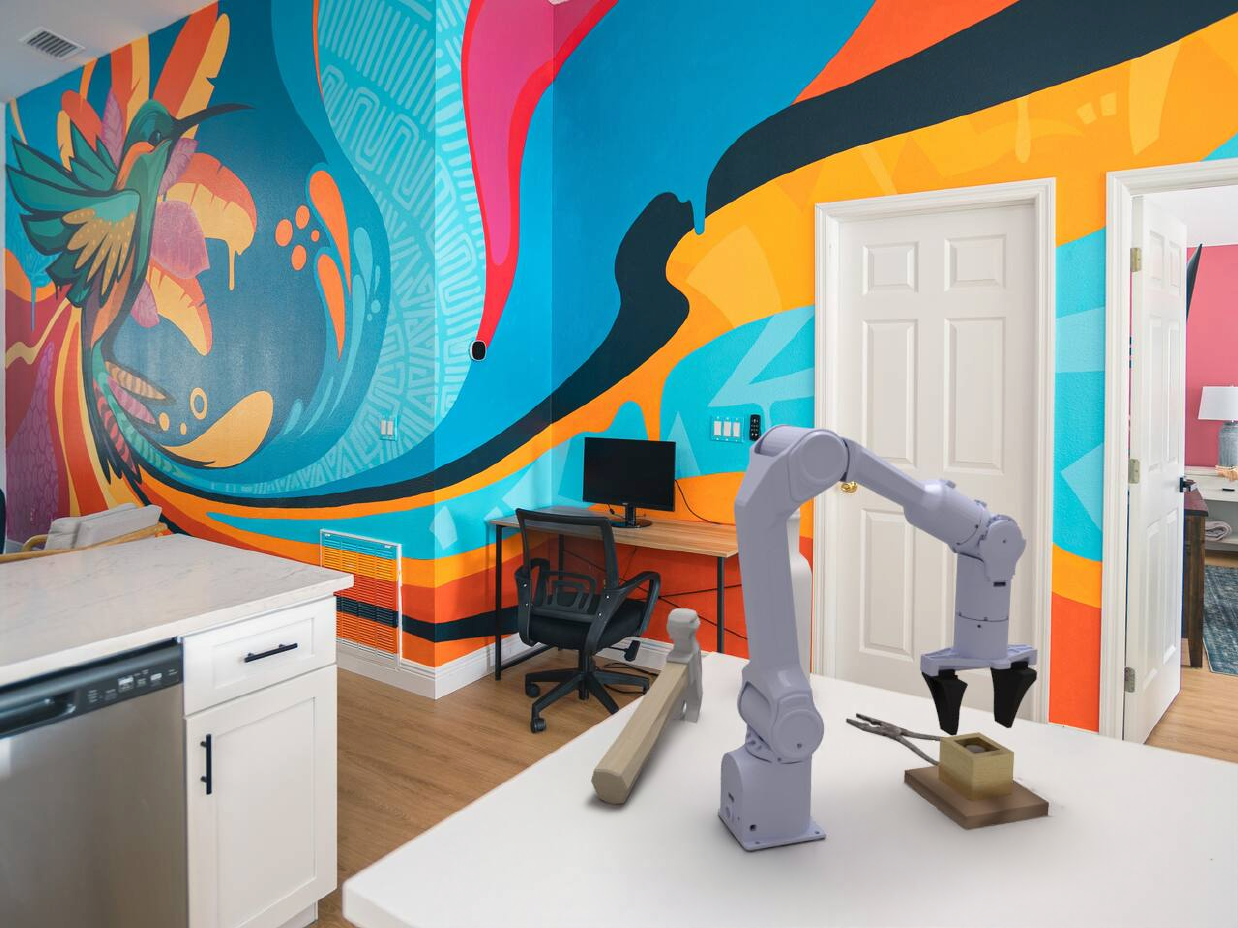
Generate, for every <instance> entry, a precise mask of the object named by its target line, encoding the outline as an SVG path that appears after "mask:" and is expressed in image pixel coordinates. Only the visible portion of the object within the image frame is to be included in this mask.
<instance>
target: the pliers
mask: <svg viewBox="0 0 1238 928" xmlns="http://www.w3.org/2000/svg"><path fill="white" fill-rule="evenodd" d="M855 717H856V718H858V719H860V720H862V721H865V722H860V721H858V720H855V719H853V718H852V719H851V718H846V720H845V722H846V723H847V724H849V725H851V726H853V727H855V728H857V729H859V730H861V731H864V732H867V733H871V734H874V735H878V736H882V737H886V738H888V739H890V740H893V741H895V742H898V743H900V744H901V745H903V746H905V748H908V749H909V750H910V751H912V752H913V753H914V754H915V755H917V756H919V757H920V758H921V759H923V760H924V761H926V762H928V763H930V764H932V766H936V765H939V760H935V759H934V758H932V757H931V756H929V755H928V754H926V753H925V752H923V751H922V750H921V749H920V748H919V747H917V745H915V744H913V743H912V742H911V741H909V740H908V739H906V738H913V739H918V740H924V741H925V740H926V741H933V740H935V742H940V738H945V737H946V736H939V735H933V734H924V733H920V732H919V733H918V732H914V731H911V730H909V729H907V728H903V727H900V726H897V725H895V724H894V723H890V722H887V721H884V720H880V719H877V718H873V717H871V716H867V715H864V714H861V713H858V712H857V713H855ZM867 722H868V723H867ZM869 723H870V724H871V725H873V726H871V725H870V724H869ZM905 737H906V738H905Z"/></svg>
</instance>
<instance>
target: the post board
mask: <svg viewBox="0 0 1238 928" xmlns="http://www.w3.org/2000/svg"><path fill="white" fill-rule="evenodd" d="M966 749H967V750H969V751H971V752H972V753H974V754H978V753H984V752H985V749H984V748H982V747H980V746H976V745H969V746H967V747H966ZM903 782H904V783H905V784H906V785H908V786H909V787H910V788H912V789H913V790H914V791H915V792H917V793H918V794H919V795H920V796H922V797H923V798H924V799H926V800H927V801H928V802H929V803H931V804H932V805H933V806H934V807H936V808H937V809H939V810H940V811H941V812H942V813H944V814H945V815H946V816H947V817H949V818H950V819H952V820H953V821H954V822H956V823H957V824H958V825H959V826H961V827H962V828H963V829H964V830H966V831H968V830H973V829H977V828H984V827H989V826H990V827H991V826H994V825H1000V824H1005V823H1011V822H1017V821H1023V819H1024V820H1027V819H1028V820H1029V819H1034V818H1040V817H1046V816H1049V808H1050V807H1049V806H1050V805H1049V804H1050V802H1049V801H1047V800H1046V799H1044V798H1043V797H1041V796H1040V795H1038V794H1037V793H1035V792H1033V791H1032V790H1030V789H1029V788H1027V787H1025V786H1024V785H1022V784H1020V783H1019V782H1017V781H1016V780H1015V779H1013V786H1012V794H1010V795H1005V796H999V797H994V798H988V799H983V800H977V801H970V800H969V799H968V798H966V797H965V796H963V795H962V794H960V793H959V792H957V791H956V790H955V789H953V788H952V787H950V786H949V785H947V784H946V783H945V782H943V781H942V780H940V779H939V765H930V766H924V767H918V768H912V769H911V768H910V769H905V770H904V781H903Z"/></svg>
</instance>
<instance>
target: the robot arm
mask: <svg viewBox="0 0 1238 928" xmlns="http://www.w3.org/2000/svg"><path fill="white" fill-rule="evenodd" d="M838 482H840V483H844V484H848V483H855V484H858V485H860V486H862V487H864V488H865V489H867V490H869V491H871V492H872V493H873V492H874V493H875V494H877V495H879V496H880V497H883V498H886V499H887V500H889V501H891V502H893V503H894V504H897V505H899V506H901V507H902V508H903V516H904V518H905V519H906V521H907V523H908V524H910V525H912V526H913V527H915V528H918V529H919V530H921V531H923V532H924V533H926V534H928V535H929V536H932V537H933V538H935V539H937V540H939V541H941V542H943V543H944V544H946V545H947V546H948V548H949V549H950V551H951V552H953V553H954V554H957V555H956V556H957V557H956V558H957V559H956V575H955V576H956V579H955V600H954V602H955V603H954V621H953V641H952V642H953V643H952V645H951V646H947V647H945V648H942V649H939V650H936V651H933V652H929V653H922V654H920V661H919V663H920V667H919V671H921V673H920V674H921V676H922V678H923V680H924V681H925V683H926V686H927V687H928V689H929V692H930V695H931V697H932V699H933V703H934V706H935V709H936V714H937V718H938V723H939V729H940V730H942V731H943V732H944V733H946V734H948V735H949V736H950V737H951V736H958V731H959V725H960V714H961V713H960V711H961V706H962V702H963V699H964V698H963V697H964V694H965V693H966V690H967V687H968V686H969V684H968V682H965V681H964V680H962V679H960V678H959V675H958V674H956V672H959V671H969V670H978V669H979V670H981V669H985V668H986V669H987V668H989V669H990V675H991V679H992V687H993V688H992V689H993V718H994V722H995V723H997V724H998V725H1001V726H1002V727H1004V728H1006V729H1011V728H1012V727H1013V724H1014V721H1015V719H1016V715H1017V713H1018V711H1019V708H1020V705H1021V703H1022V701H1023V700H1024V698H1025V696H1026V694H1027V692H1028V691H1029V690H1030V688H1031V687H1032V685H1033V684H1034V683H1035V682H1036V681H1037V679H1038V671H1037V669H1034V668H1032V667H1029V666H1036V665H1037V661H1038V649H1037V647H1034V646H1031V645H1029V644H1027V643H1020V644H1016V643H1015V644H1014V643H1012V644H1010V643H1009V626H1010V605H1011V589H1012V580H1013V578H1014V576H1016V566H1017V563H1018V561H1019V560H1020V558H1021V557H1022V556H1023V554H1024V551H1025V549H1026V546H1027V539H1026V538H1024V537H1023V532H1022V530H1021V529H1020V527H1019V524H1018V523H1017V521H1016V520H1015V519H1013V517H1010V516H1009V515H1007V514H1006V515H1005V514H1001V513H995V512H992V511H990V510H989V509H988V508H987V506H988V503H987V502H985V501H984V500H982V499H979V498H978V499H977V498H974V499H973V498H970V497H968V496H967V495H965V494H963V493H961V492H959V491H958V490H956V489H955V488H956V487H957V483H955V482H954V481H952V480H950V479H947V478H943V477H942V478H939V479H936V478H928V479H924V480H921V481H918V480H916V479H915V478H913V477H912V476H910V475H908V474H907V473H906V472H905V471H903V470H901V469H899V468H897V466H895V465H893V464H892V463H890V462H888V461H887V460H885V459H884V458H882V457H880V455H877V454H876V453H875V452H872V451H871V450H869V449H868V448H867V447H865V446H863V445H862V444H860V443H858V442H857V441H856V440H853V439H851V438H848V437H845V436H840V435H838V434H837V433H836V432H834V431H833V430H831V429H828V428H824V427H823V428H821V427H817V428H808V427H799V426H794V425H791V424H787V423H786V424H785V423H783V424H776V425H773V426H772V427H770V428H768V429H767V430H766V431H765V432H764V433H763V434H762V435H760V437H759V438H758V439H757V440H756V441H755V442H754V443H753V444H752V445H751V446H750V447H749V463H748V465H747V467H746V470H745V472H744V476H743V477H742V480H741V484H740V485H739V488H738V490H737V493H736V496H735V499H734V501H733V502H734V503H733V513H734V524H735V533H736V541H737V551H738V552H737V553H738V561H739V570H740V580H741V590H742V601H743V609H744V610H743V611H744V616H745V617H744V618H745V626H746V627H745V629H746V630H745V631H746V638H747V646H748V647H747V648H748V657H749V662H748V663H747V664H745V665H744V667H742V669H741V678H742V681H741V686H740V690H739V693H738V695H737V702H736V707H737V711H738V714H739V717H740V718H741V720H743V722H744V723H745V724H746V733H745V739H744V743H743V744H742V745H741V746H739V747H738V748H736V749H734V750H731V751H728V752H726V753H724V754H723V755H722V759H721V764H720V804H719V805H720V807H719V808H718V809H717V814H718V816H719V817H720V818H721V819H722V822H724V823H725V825H726V826H727V828H728V829H729V830H730V831H731V833H732V834H733V835H734V836H735V838H736V840H737V841H738V842H739V843H740V844H741V846H742V847H743V849H745V851H754V850H760V849H765V848H771V847H777V846H783V845H790V844H794V843H795V844H796V843H801V842H805V841H806V842H807V841H812V840H819V839H824V838H826V836H827V832H826V830H825V829H824V828H822V826H821V825H820V824H819V823H818V822H817V821H816V820H814V818H813V817H812V816H811V802H812V801H811V800H812V767H813V766H812V763H813V762H812V761H813V754H815V752H816V751H817V750H818V749H819V748H820V746H821V743H822V741H823V739H824V735H825V723H824V719H823V717H822V715H821V714H820V711H818V709H817V707H816V706H815V702H814V698H813V696H814V695H813V690H812V687H811V684H810V685H809V683H808V680H807V678H806V676H805V674H804V672H803V670H802V668H801V666H800V660H799V650H798V639H797V629H796V618H795V608H794V597H793V587H792V577H791V566H790V556H789V545H788V535H787V525H786V523H787V520H788V519H789V518H790V517H791V516H792V515H793V513H794V512H795V511H796V510H797V509H798V508H800V507H801V506H802V505H804V504H805V503H807V502H809V501H811V500H812V499H814V498H816V497H817V496H819V495H821V494H823V493H824V492H826V491H827V490H829V489H830V488H832V487H834V486H835V485H836V484H838Z"/></svg>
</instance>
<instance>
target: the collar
mask: <svg viewBox="0 0 1238 928" xmlns="http://www.w3.org/2000/svg"><path fill="white" fill-rule="evenodd" d="M944 737H945V738H940V741H939V756H938V757H939V758H938V759H939V760H938V762H939V779H940V780H942V781H943V782H945V783H946V784H947V785H949V786H950V787H952V788H953V789H955V790H956V791H957V792H959V793H960V794H962V795H963V796H965V797H966V798H968V799H969V800H970V801H977V800H983V799H988V798H994V797H999V796H1005V795H1010V794H1012V786H1013V780H1014V764H1015V763H1014V762H1015V761H1014V760H1015V752H1014V751H1012V750H1010V749H1008V748H1007V747H1005V746H1003V745H1002V744H1000V743H999V742H997V741H995V740H993V739H991V738H990V737H988V736H986V735H984V733H981V732H972V733H966V734H965V733H964V734H959V735H958V734H957V735H953V736H951V735H950V736H944ZM969 745H976V746H980V747H982V748H984V749H985V752H984V753H978V754H974V753H972V752H971V751H969V750H967V749H966V747H967V746H969Z"/></svg>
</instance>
